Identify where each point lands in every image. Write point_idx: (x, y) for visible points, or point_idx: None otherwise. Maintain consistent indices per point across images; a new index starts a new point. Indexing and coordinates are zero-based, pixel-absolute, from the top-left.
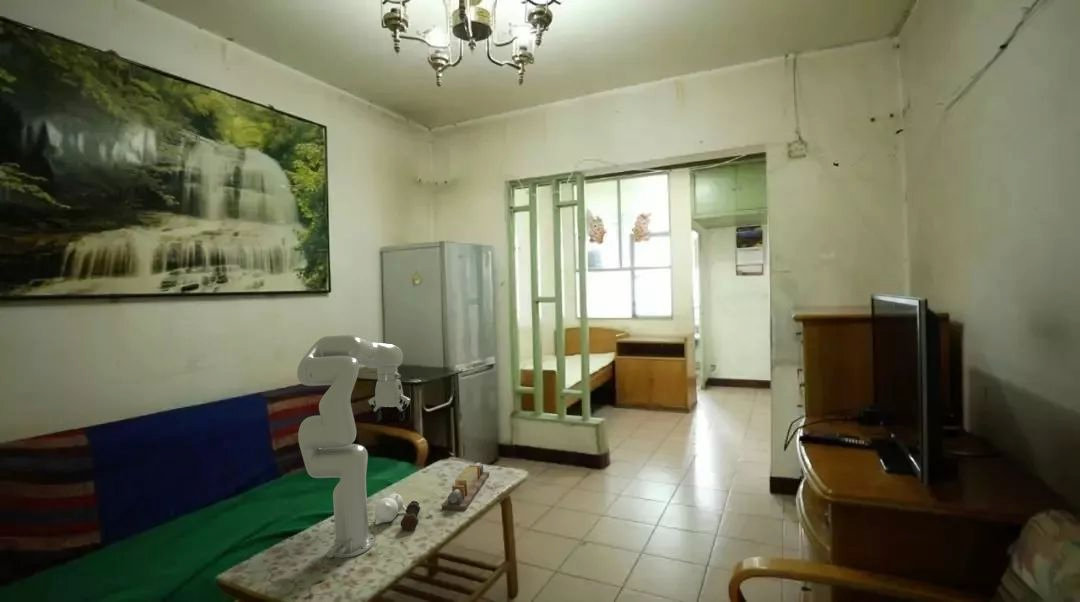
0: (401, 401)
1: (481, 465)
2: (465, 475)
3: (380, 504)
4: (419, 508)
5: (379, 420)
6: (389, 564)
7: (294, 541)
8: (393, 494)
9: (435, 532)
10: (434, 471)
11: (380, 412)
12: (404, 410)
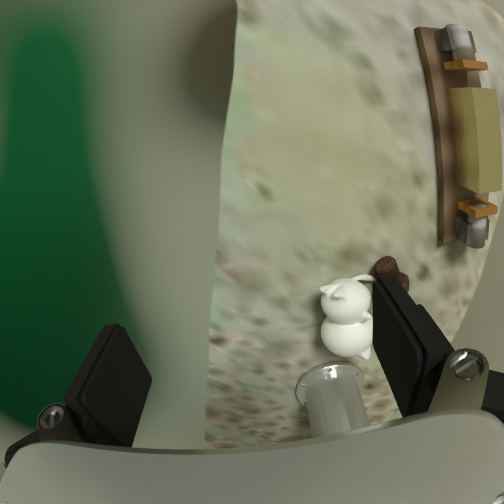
0: (458, 440)
1: (467, 30)
2: (492, 156)
3: (348, 356)
4: (408, 282)
5: (140, 359)
6: None
7: (214, 397)
8: (354, 315)
9: (448, 313)
10: (282, 7)
11: (103, 395)
12: (458, 359)
